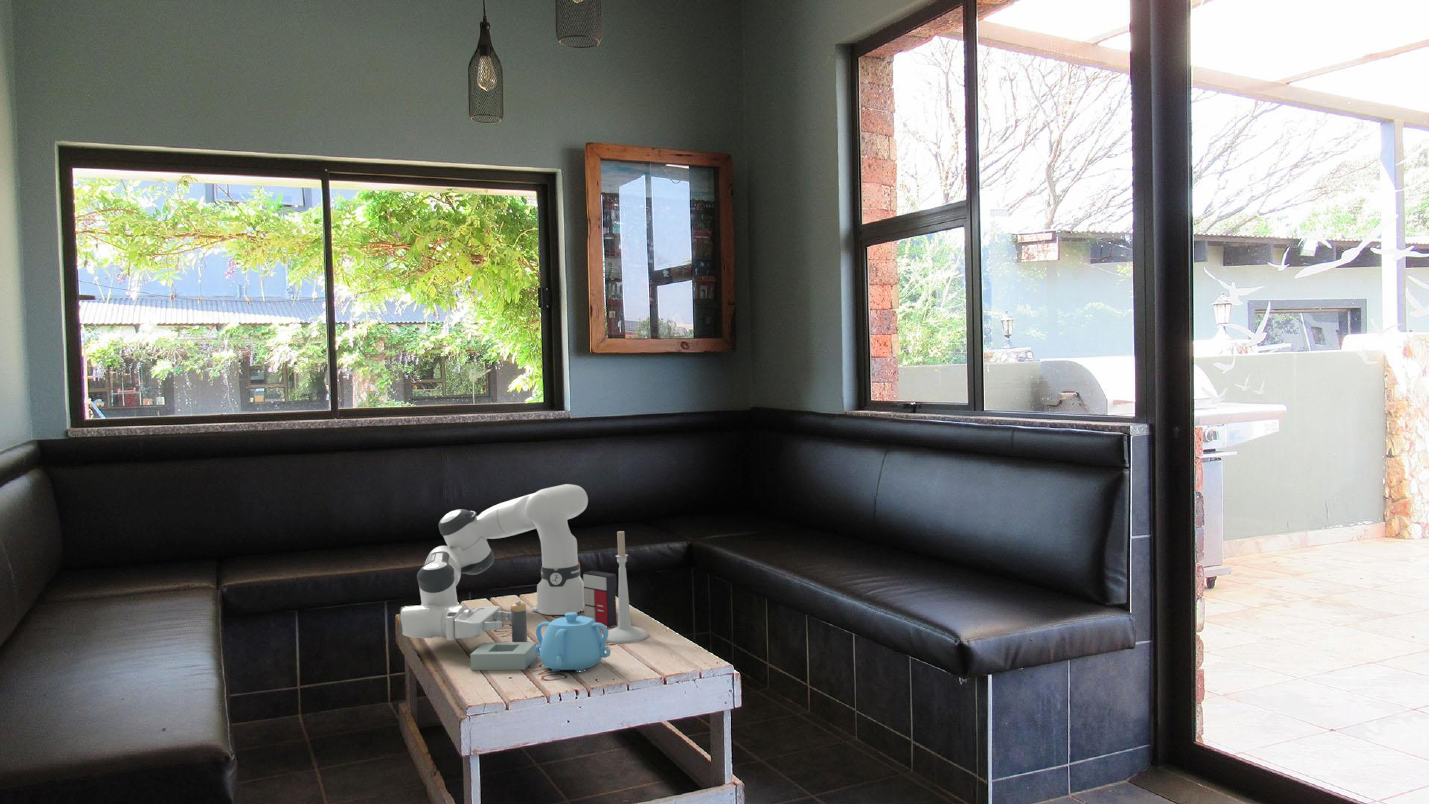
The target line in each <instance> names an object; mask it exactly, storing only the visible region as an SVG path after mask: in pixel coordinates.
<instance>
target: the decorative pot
mask: <svg viewBox="0 0 1429 804" xmlns="http://www.w3.org/2000/svg"><path fill="white" fill-rule="evenodd" d="M578 613H579V612H577V613H576V612H569V613H566V614H564V616H562V617H557V618H555V619H553V620H552V621H542V622H541V623H539V624H538V625H537V626H536V628H535V635H536V638H537V642H538V645H537V647H536V649H535V652H536V654H537V656H539V660H540V661H541V663H542V665H543V666H544V667H545V668H548V669H550V670H552V671H551V672H553V671H557V672H561V671H569V670H570V671H573V670H574V671H575V672H576V671H578V672H577V673H580V672H579V671H584V670H586V671H587V669H590V668H593V667H595V666H596V665H597V664H599V663H600V662H601V660H602V659H604V658H605V659H606V658H608V657H610V655H611V649H610V648H609V647H608V646H606V645H607V643H608V642H607V638H608V627H606V626H605V625H604V624H602V623H596V622H595V620H594V619H593V618H590V617H585V616H584V615H578ZM542 627H546V629H545V631H544V634H543V633H542ZM601 630H602V631H601ZM602 632H603V634H602ZM542 634H543V635H542ZM602 635H603V637H602ZM605 652H606V653H605ZM560 670H561V671H560Z"/></svg>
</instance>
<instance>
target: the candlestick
mask: <svg viewBox="0 0 1429 804" xmlns="http://www.w3.org/2000/svg"><path fill="white" fill-rule="evenodd" d="M616 535H617V536H616V537H617V555H615V557H616V561H617V563H618V566H619V567H618V607H617V609H618V614H617V615H618V617H617V627H613V628H611V629H609V630H608V638H607V642H606V643H609V644H632V643H631V642H633V643H636V642H635V641H638V642H642V641H644V640H646V639H647V638H648V637H649V632H648V631H647V630H645V629H643V628H641V627H638V626H632V622H631V621H632V620H631V612H630V611H631V610H630V599H629V589H628V588H629V587H628V577H627V576H628V575H627V568H626V563H627V561H628V559H627V558H628V556H629V555H628V554H626V540H625V539H626V538H625V531H624V530H623V531H622V530H621V529H620V530H619V531H617V532H616ZM602 637H603V634H602ZM645 638H646V639H645ZM643 639H644V640H643ZM641 640H642V641H641Z"/></svg>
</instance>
